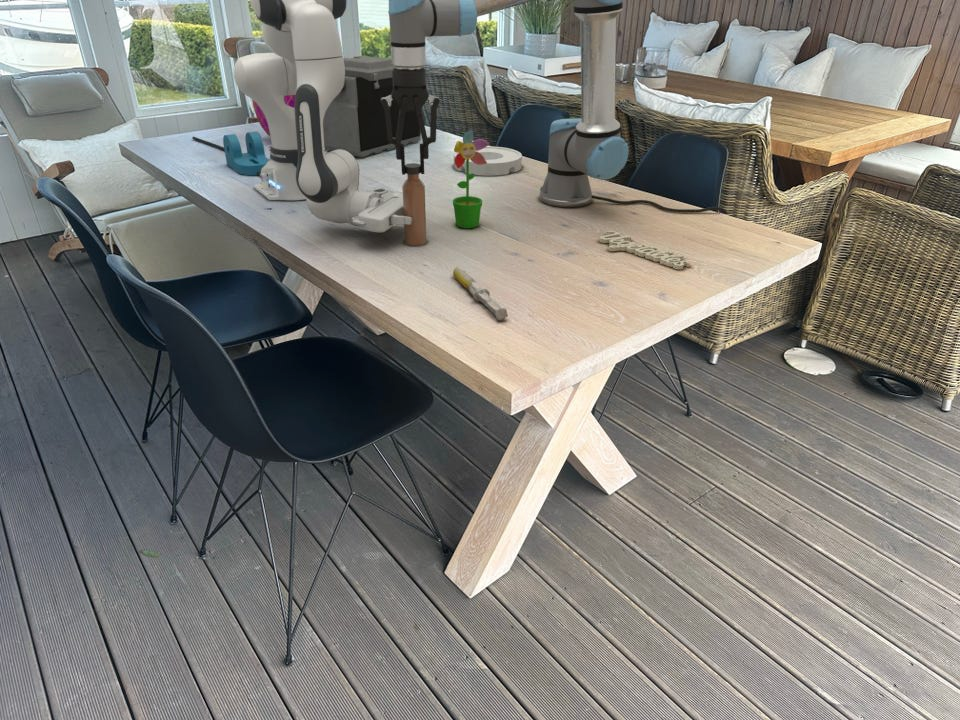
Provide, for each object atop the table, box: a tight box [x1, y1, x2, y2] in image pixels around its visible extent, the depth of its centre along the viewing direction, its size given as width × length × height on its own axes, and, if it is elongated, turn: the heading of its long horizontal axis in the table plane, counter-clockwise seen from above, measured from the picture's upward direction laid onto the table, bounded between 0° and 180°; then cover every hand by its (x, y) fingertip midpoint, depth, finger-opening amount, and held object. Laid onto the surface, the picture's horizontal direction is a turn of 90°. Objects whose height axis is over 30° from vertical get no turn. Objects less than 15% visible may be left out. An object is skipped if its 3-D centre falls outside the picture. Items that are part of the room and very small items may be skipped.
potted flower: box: [452, 129, 491, 229], centre depth 177 cm, size 9×8×25 cm
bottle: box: [401, 174, 427, 247], centre depth 168 cm, size 5×5×18 cm
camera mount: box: [222, 131, 270, 176], centre depth 226 cm, size 18×10×10 cm, turn 35°
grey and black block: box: [323, 55, 422, 159], centre depth 250 cm, size 37×22×30 cm, turn 144°
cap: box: [405, 162, 421, 175], centre depth 163 cm, size 4×4×2 cm
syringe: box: [452, 266, 509, 321], centre depth 145 cm, size 25×4×3 cm, turn 21°
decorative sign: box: [599, 230, 690, 270], centre depth 167 cm, size 26×1×10 cm
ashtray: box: [453, 145, 523, 177], centre depth 234 cm, size 23×23×4 cm
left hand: (418, 216), depth 169 cm, fingers closed on bottle, 5 cm apart
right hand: (413, 172), depth 164 cm, fingers closed on cap, 4 cm apart
